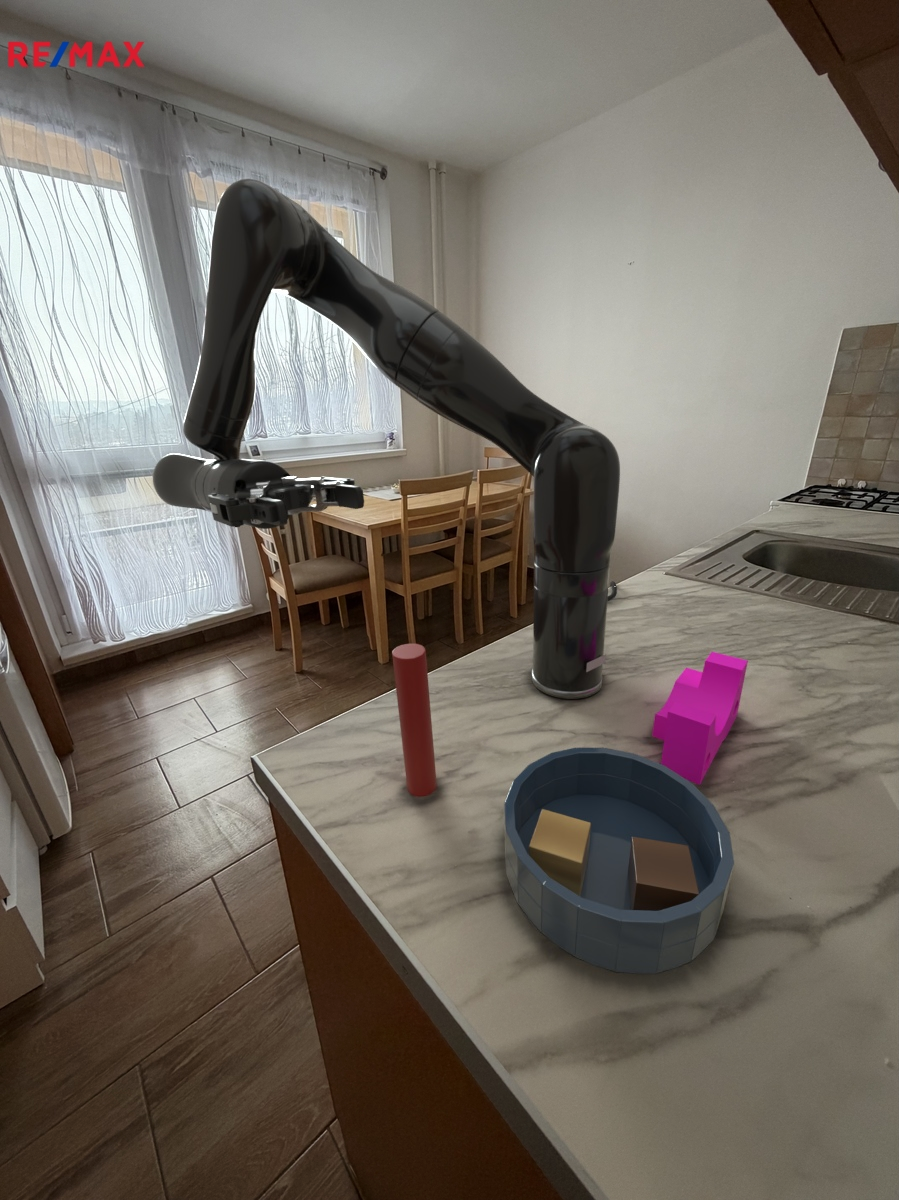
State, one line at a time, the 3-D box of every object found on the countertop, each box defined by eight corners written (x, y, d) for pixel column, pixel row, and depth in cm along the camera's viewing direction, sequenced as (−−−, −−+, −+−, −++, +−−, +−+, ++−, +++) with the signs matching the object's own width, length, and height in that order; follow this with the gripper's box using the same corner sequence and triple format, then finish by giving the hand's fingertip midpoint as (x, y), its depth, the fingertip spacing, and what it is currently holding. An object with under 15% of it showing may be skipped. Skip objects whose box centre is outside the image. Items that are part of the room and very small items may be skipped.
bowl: (530, 777, 50) (531, 732, 48) (711, 819, 44) (720, 770, 42) (478, 928, 36) (476, 874, 34) (733, 1021, 30) (749, 963, 28)
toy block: (681, 698, 61) (689, 645, 59) (736, 715, 57) (747, 660, 55) (635, 762, 51) (642, 702, 48) (699, 789, 47) (710, 725, 44)
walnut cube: (627, 873, 39) (631, 836, 37) (681, 883, 38) (688, 845, 36) (631, 921, 35) (636, 882, 34) (691, 933, 34) (699, 894, 33)
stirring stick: (416, 776, 51) (402, 641, 45) (441, 783, 50) (431, 645, 44) (402, 796, 48) (385, 655, 42) (429, 804, 47) (415, 661, 41)
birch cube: (541, 843, 42) (542, 808, 40) (588, 858, 40) (591, 822, 39) (528, 883, 38) (528, 846, 37) (579, 901, 37) (582, 863, 35)
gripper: (176, 467, 51) (242, 475, 40) (298, 453, 60) (378, 456, 49) (194, 536, 53) (261, 561, 43) (308, 512, 63) (386, 528, 52)
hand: (324, 505), depth 46 cm, fingers open, 8 cm apart
